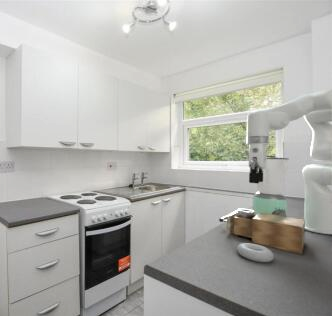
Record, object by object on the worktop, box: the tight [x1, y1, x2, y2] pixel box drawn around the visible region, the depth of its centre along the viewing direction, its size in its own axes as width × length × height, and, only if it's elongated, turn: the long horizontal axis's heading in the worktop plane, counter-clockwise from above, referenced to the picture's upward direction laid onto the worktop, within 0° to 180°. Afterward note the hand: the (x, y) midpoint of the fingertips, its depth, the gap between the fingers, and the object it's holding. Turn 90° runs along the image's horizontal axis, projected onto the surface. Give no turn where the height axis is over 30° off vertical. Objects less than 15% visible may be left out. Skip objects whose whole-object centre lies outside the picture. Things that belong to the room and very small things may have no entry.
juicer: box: [252, 155, 290, 217], centre depth 108 cm, size 19×13×35 cm
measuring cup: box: [237, 208, 255, 220], centre depth 96 cm, size 6×6×9 cm
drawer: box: [218, 210, 256, 239], centre depth 96 cm, size 18×13×8 cm
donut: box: [237, 242, 275, 263], centre depth 75 cm, size 10×4×10 cm
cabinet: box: [251, 213, 306, 255], centre depth 88 cm, size 15×15×10 cm
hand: (256, 182), depth 92 cm, fingers open, 9 cm apart
